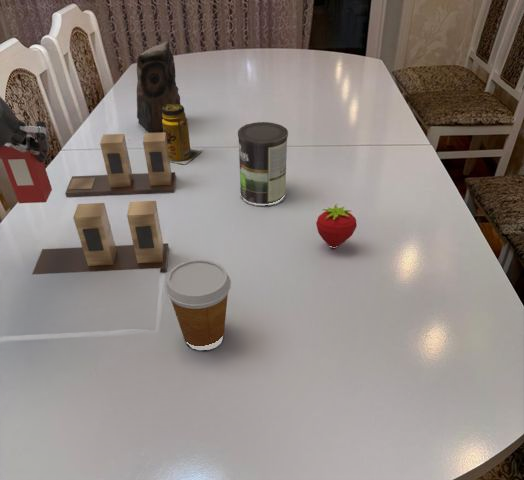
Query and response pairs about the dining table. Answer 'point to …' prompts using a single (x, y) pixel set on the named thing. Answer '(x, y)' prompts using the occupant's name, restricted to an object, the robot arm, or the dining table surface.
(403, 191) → the dining table surface
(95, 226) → the front word
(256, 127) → the coffee can
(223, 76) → the dining table surface
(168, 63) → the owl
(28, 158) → the red labeled block
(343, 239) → the strawberry
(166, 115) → the condiment
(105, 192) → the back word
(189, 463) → the dining table surface
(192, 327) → the disposable coffee cup
